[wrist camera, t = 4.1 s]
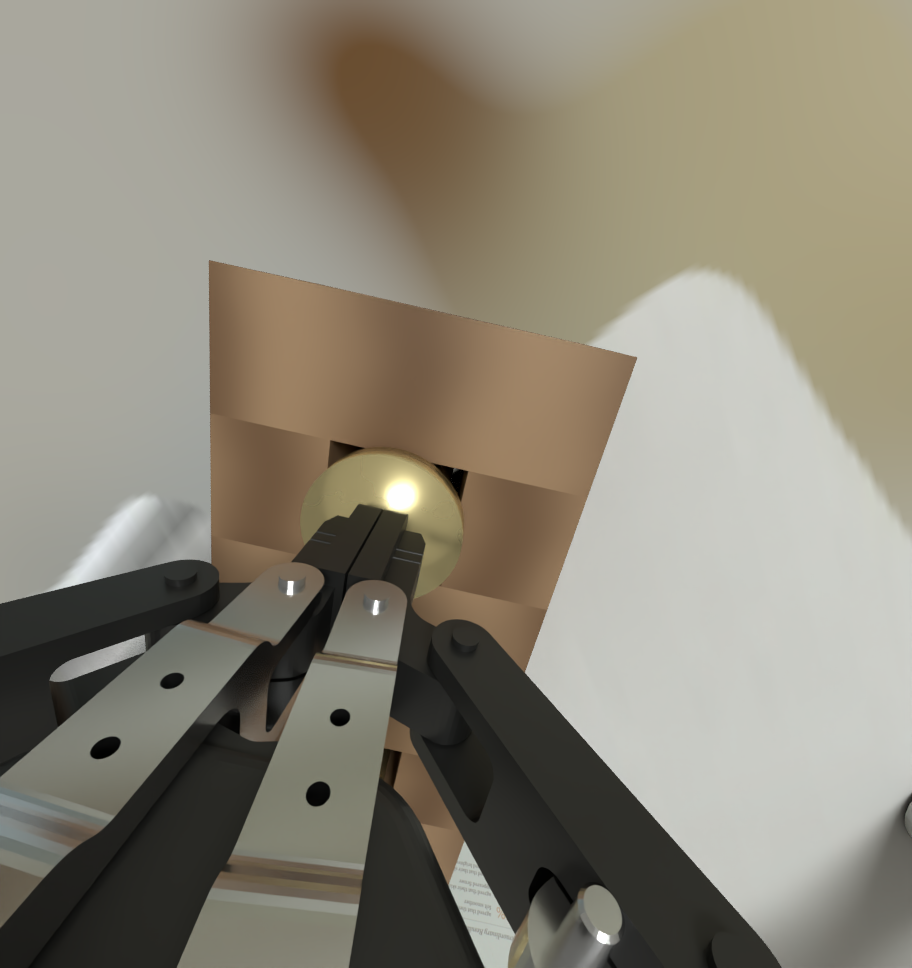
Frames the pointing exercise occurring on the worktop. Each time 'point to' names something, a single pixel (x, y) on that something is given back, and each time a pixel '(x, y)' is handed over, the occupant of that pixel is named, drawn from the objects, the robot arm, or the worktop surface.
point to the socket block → (411, 427)
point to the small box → (481, 912)
